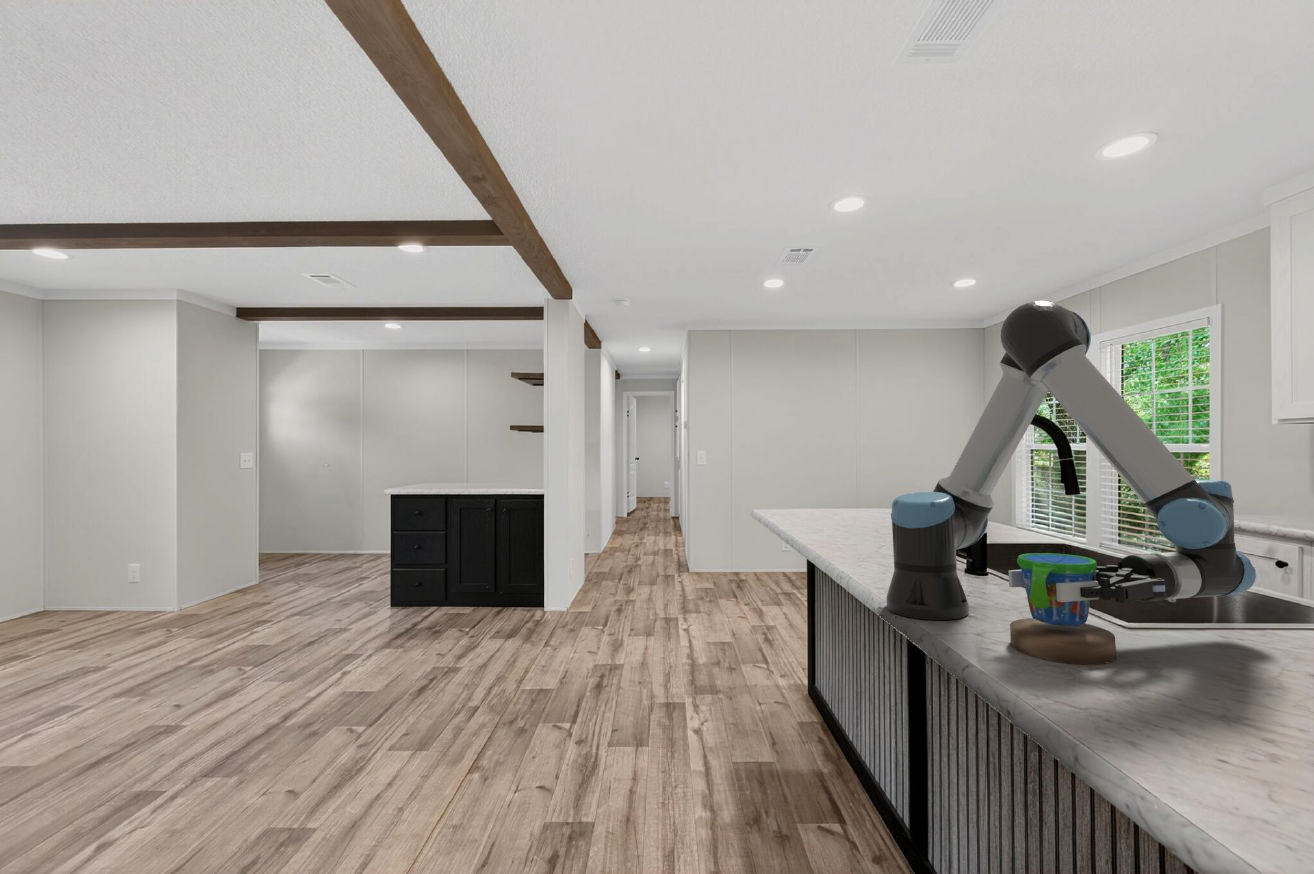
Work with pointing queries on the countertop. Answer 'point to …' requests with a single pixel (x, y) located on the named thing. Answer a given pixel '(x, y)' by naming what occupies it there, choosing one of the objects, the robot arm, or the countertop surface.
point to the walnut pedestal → (1063, 642)
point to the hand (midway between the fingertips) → (1033, 585)
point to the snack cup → (1041, 586)
